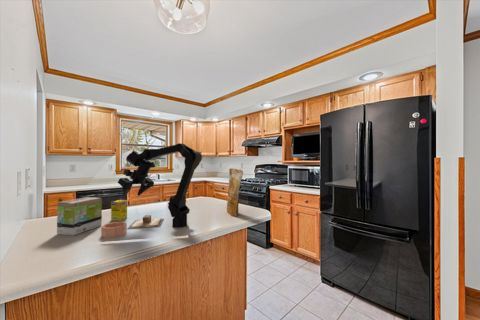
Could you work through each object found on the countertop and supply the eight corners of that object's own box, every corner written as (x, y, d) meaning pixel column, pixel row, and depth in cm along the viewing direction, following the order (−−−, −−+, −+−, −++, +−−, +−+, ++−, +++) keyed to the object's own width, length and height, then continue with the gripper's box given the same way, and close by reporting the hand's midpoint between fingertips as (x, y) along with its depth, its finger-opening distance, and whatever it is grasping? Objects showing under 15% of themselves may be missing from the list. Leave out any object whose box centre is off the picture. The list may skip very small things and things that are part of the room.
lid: (161, 219, 117) (161, 212, 117) (157, 226, 105) (157, 218, 105) (137, 221, 115) (137, 213, 115) (131, 228, 103) (131, 220, 103)
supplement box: (121, 222, 116) (121, 202, 116) (110, 222, 116) (110, 202, 116) (127, 219, 122) (127, 199, 122) (117, 219, 122) (117, 199, 122)
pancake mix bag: (233, 209, 145) (233, 168, 145) (243, 216, 127) (243, 169, 127) (224, 210, 143) (224, 168, 143) (233, 217, 125) (233, 169, 125)
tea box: (74, 236, 95) (74, 203, 95) (56, 234, 97) (56, 202, 97) (102, 225, 110) (102, 197, 110) (86, 224, 112) (86, 196, 112)
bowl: (128, 232, 100) (128, 221, 100) (122, 239, 92) (122, 227, 92) (107, 233, 98) (107, 222, 98) (98, 240, 90) (98, 228, 90)
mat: (164, 220, 119) (164, 218, 119) (160, 229, 104) (160, 227, 104) (135, 222, 116) (135, 220, 116) (126, 231, 101) (126, 229, 101)
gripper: (147, 164, 124) (136, 187, 126) (117, 162, 107) (105, 189, 109) (159, 174, 120) (148, 197, 122) (130, 173, 103) (118, 201, 105)
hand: (130, 196), depth 115 cm, fingers open, 9 cm apart
